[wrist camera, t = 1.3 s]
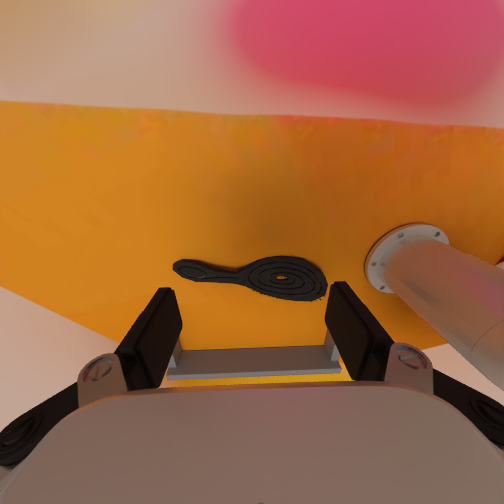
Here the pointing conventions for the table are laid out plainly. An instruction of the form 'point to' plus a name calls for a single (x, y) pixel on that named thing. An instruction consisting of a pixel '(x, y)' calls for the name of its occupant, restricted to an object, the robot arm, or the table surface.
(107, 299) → the table surface
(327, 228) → the table surface
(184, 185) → the table surface
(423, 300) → the robot arm
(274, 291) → the hairbrush
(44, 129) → the table surface
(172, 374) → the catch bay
